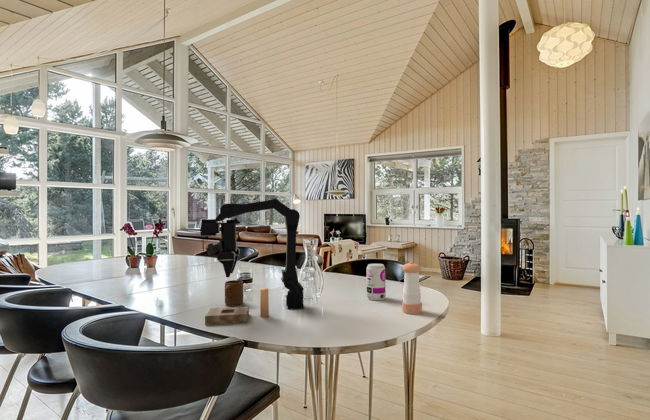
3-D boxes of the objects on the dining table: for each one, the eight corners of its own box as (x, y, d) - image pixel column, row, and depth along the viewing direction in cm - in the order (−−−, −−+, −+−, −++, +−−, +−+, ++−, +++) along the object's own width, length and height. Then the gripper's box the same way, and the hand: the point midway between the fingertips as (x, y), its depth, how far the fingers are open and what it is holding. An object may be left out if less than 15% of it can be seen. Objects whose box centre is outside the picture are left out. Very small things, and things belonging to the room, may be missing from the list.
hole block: (248, 314, 135) (248, 306, 135) (246, 322, 125) (246, 314, 125) (210, 316, 133) (210, 308, 133) (205, 324, 123) (205, 316, 123)
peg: (268, 314, 134) (268, 288, 134) (268, 317, 131) (268, 290, 131) (260, 315, 134) (260, 288, 134) (260, 317, 131) (260, 290, 131)
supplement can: (388, 297, 159) (388, 264, 159) (380, 301, 152) (380, 266, 152) (371, 295, 163) (371, 262, 163) (363, 299, 156) (363, 265, 156)
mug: (235, 309, 142) (235, 285, 142) (217, 309, 143) (217, 285, 143) (245, 301, 154) (245, 280, 154) (229, 301, 155) (228, 279, 155)
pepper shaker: (425, 311, 137) (425, 261, 137) (414, 315, 132) (414, 263, 132) (409, 307, 142) (408, 259, 142) (398, 311, 137) (398, 261, 137)
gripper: (212, 234, 149) (213, 272, 149) (202, 238, 130) (203, 280, 130) (239, 233, 150) (240, 270, 150) (233, 236, 131) (234, 279, 131)
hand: (229, 275), depth 140 cm, fingers open, 9 cm apart
